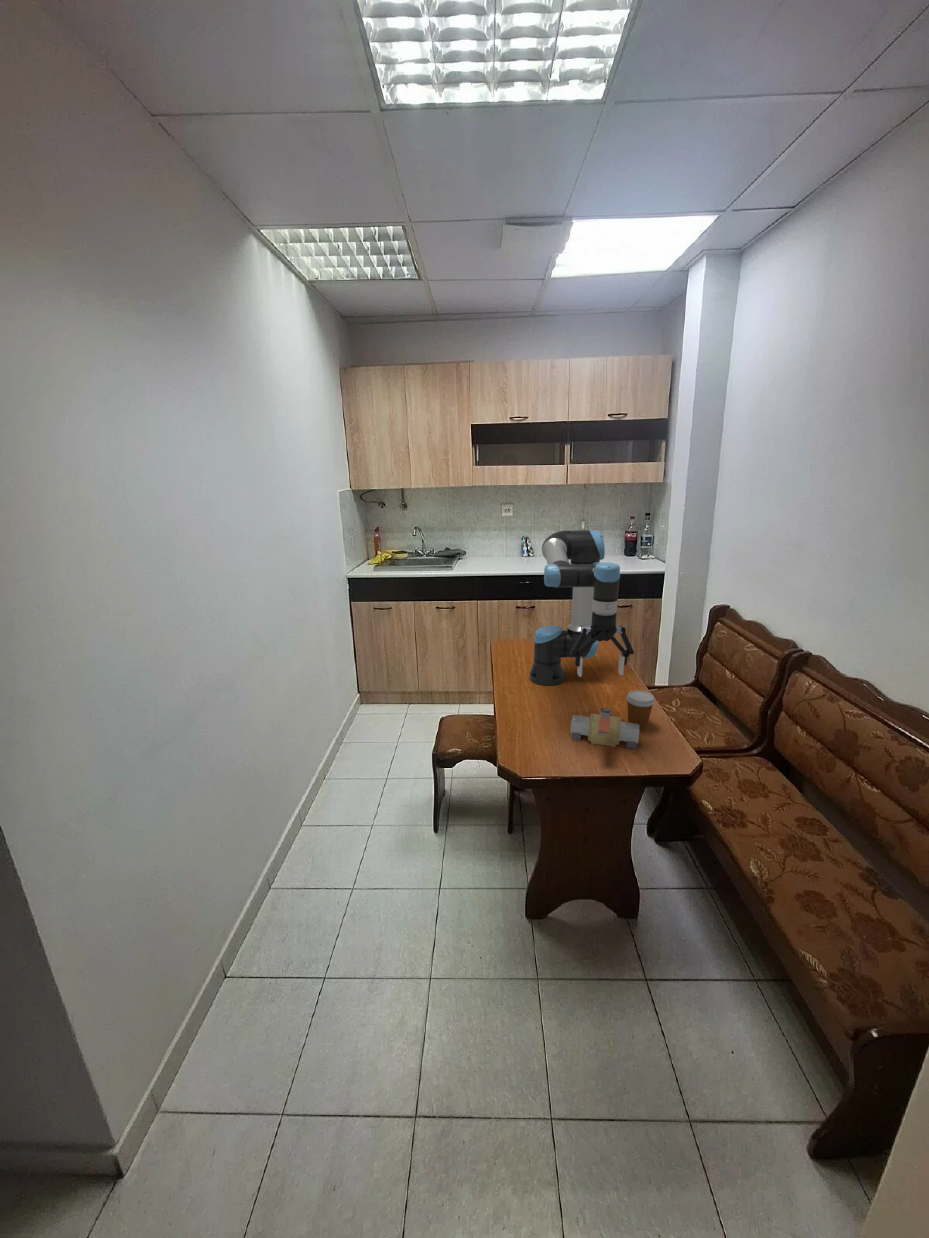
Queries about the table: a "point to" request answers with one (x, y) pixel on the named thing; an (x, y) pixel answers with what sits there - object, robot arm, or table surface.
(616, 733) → the bar with tan sleeve
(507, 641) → the table surface
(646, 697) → the disposable coffee cup
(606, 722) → the lever
